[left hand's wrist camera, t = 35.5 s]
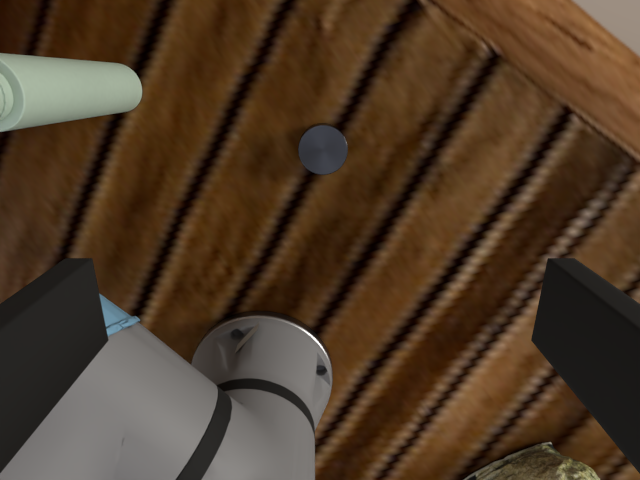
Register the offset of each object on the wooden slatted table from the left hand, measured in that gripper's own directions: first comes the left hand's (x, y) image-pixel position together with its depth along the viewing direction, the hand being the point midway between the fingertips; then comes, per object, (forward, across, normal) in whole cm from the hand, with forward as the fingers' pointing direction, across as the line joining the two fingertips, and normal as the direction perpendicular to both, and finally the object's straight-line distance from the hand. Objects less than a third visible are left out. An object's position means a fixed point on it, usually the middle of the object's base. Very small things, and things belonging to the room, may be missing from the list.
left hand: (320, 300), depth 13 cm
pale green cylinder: (+28, +17, -5) cm, 34 cm away
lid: (+27, 0, 0) cm, 27 cm away
